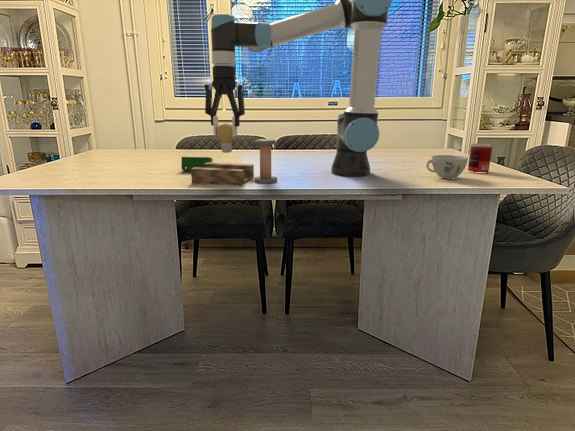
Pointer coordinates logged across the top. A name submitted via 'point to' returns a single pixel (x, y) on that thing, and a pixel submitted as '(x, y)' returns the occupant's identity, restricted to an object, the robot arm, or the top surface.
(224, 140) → the light bulb
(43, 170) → the top surface
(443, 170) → the teacup
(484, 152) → the canned food
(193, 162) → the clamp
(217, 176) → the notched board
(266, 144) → the bobbin
